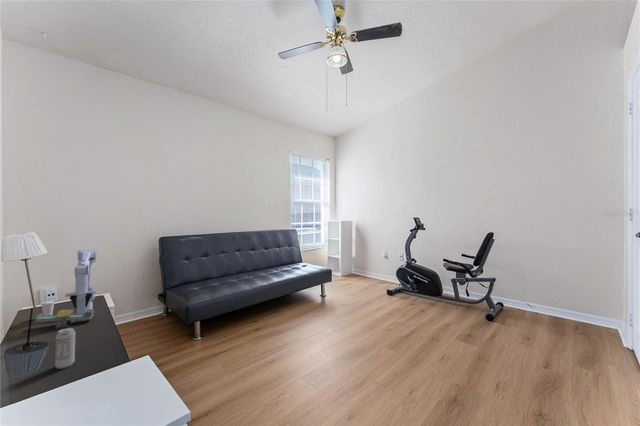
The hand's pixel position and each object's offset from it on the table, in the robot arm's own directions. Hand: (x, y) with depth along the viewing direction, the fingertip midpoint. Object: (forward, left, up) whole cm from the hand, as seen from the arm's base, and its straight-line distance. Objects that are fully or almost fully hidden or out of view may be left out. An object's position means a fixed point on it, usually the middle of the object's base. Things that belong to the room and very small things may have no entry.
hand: (81, 307), depth 166 cm
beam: (0, -7, -5) cm, 9 cm away
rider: (0, -8, -5) cm, 9 cm away
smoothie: (-23, -22, -10) cm, 33 cm away
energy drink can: (+64, +10, -10) cm, 65 cm away
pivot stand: (0, -7, -9) cm, 12 cm away
